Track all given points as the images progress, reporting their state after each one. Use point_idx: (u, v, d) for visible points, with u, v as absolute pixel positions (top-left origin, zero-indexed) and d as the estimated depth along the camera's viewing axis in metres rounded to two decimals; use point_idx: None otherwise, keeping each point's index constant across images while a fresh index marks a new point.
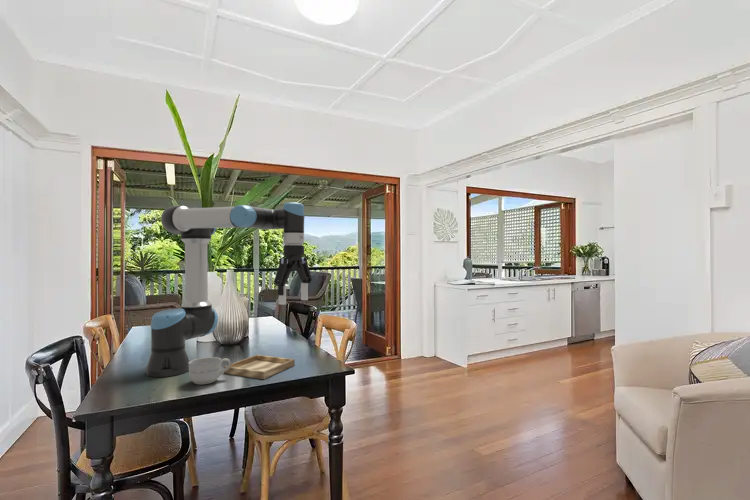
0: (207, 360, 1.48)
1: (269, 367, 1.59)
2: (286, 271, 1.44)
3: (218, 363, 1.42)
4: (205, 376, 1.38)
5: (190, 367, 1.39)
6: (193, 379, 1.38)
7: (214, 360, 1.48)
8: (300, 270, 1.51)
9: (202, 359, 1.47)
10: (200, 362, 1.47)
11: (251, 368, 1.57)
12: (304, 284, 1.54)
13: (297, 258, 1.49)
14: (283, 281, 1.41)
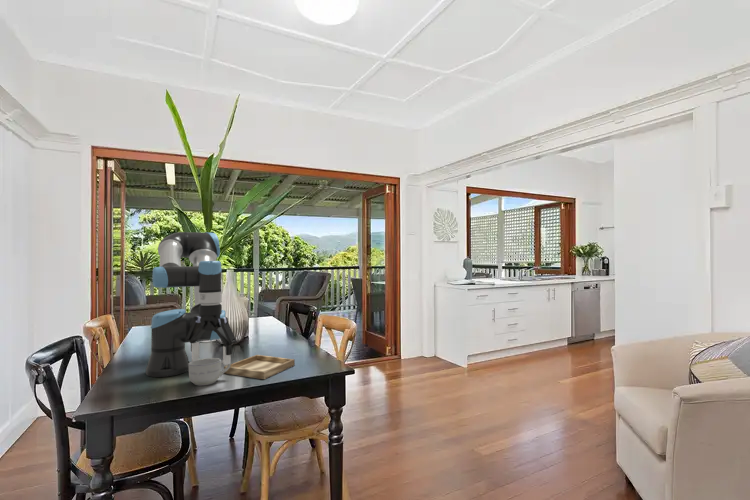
0: (207, 361, 1.48)
1: (269, 367, 1.59)
2: None
3: (218, 364, 1.42)
4: (204, 377, 1.38)
5: (190, 368, 1.39)
6: (193, 380, 1.38)
7: (214, 361, 1.48)
8: None
9: (202, 360, 1.47)
10: (200, 363, 1.47)
11: (251, 368, 1.57)
12: None
13: (209, 319, 1.42)
14: (191, 338, 1.45)
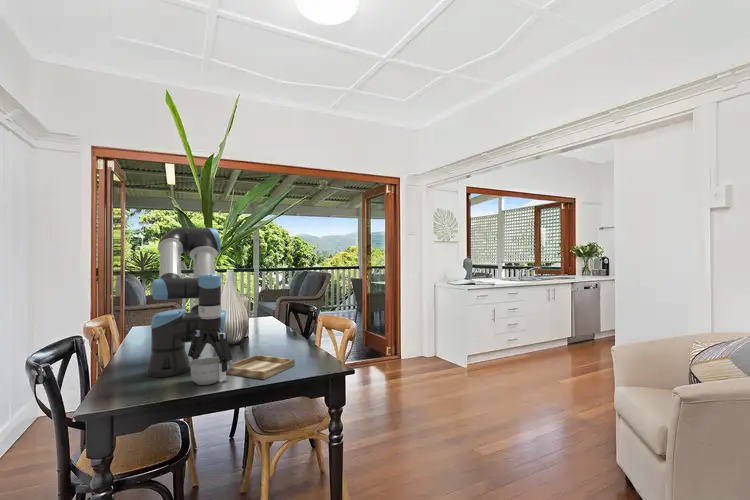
0: (209, 360, 1.47)
1: (269, 367, 1.59)
2: None
3: None
4: (207, 377, 1.38)
5: (192, 367, 1.38)
6: (195, 379, 1.38)
7: (216, 360, 1.47)
8: None
9: (204, 359, 1.47)
10: (202, 362, 1.46)
11: (251, 368, 1.57)
12: None
13: (209, 331, 1.42)
14: (193, 354, 1.45)
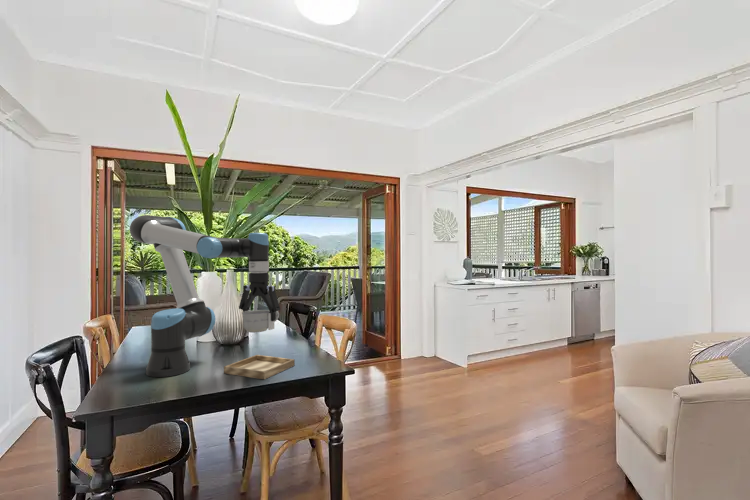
0: (257, 312, 1.61)
1: (269, 367, 1.59)
2: None
3: None
4: (258, 324, 1.52)
5: (245, 316, 1.52)
6: (248, 327, 1.52)
7: None
8: None
9: (253, 311, 1.61)
10: None
11: (251, 368, 1.57)
12: None
13: (258, 284, 1.56)
14: (243, 306, 1.59)
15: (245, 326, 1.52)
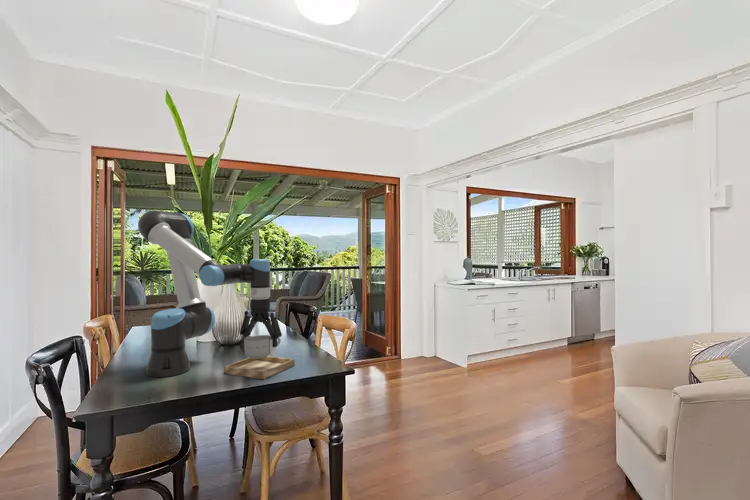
0: (258, 338, 1.62)
1: (269, 367, 1.59)
2: None
3: None
4: (260, 351, 1.52)
5: (246, 343, 1.53)
6: (249, 354, 1.52)
7: (265, 338, 1.62)
8: None
9: (254, 337, 1.61)
10: (252, 339, 1.61)
11: (251, 368, 1.57)
12: None
13: (260, 310, 1.57)
14: (244, 332, 1.60)
15: (247, 353, 1.53)
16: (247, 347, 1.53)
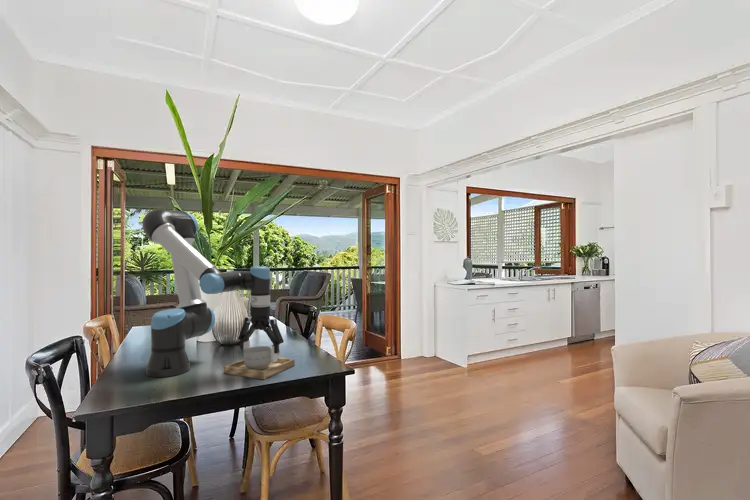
0: (257, 349, 1.62)
1: (269, 367, 1.59)
2: None
3: (270, 351, 1.57)
4: (259, 363, 1.53)
5: (246, 354, 1.53)
6: (249, 365, 1.53)
7: (264, 349, 1.62)
8: None
9: (253, 348, 1.62)
10: (251, 350, 1.61)
11: None
12: None
13: (260, 319, 1.57)
14: (243, 337, 1.60)
15: (246, 364, 1.53)
16: (246, 358, 1.53)
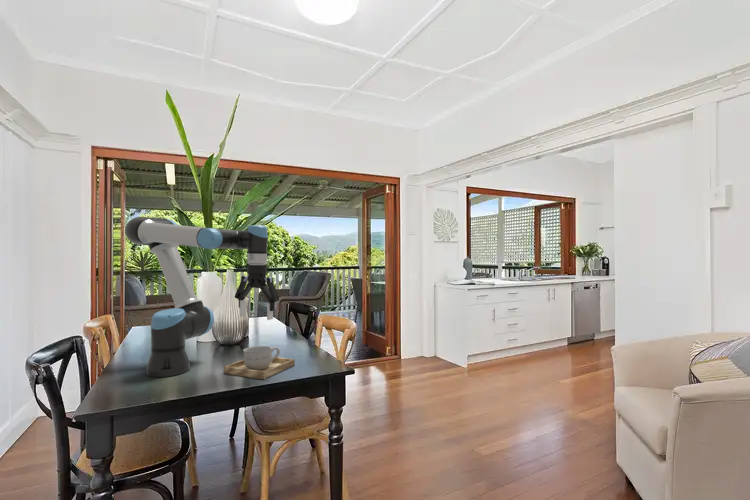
0: (257, 349, 1.62)
1: (269, 367, 1.59)
2: None
3: (270, 351, 1.57)
4: (259, 363, 1.53)
5: (246, 354, 1.53)
6: (249, 365, 1.53)
7: (264, 349, 1.62)
8: None
9: (253, 348, 1.62)
10: (251, 350, 1.61)
11: None
12: None
13: (256, 277, 1.58)
14: (239, 296, 1.62)
15: (246, 364, 1.53)
16: (246, 358, 1.53)
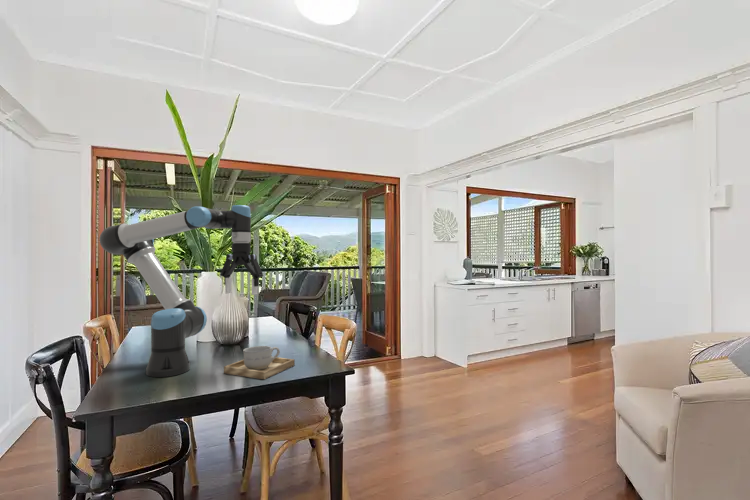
0: (257, 349, 1.62)
1: (269, 367, 1.59)
2: None
3: (270, 351, 1.57)
4: (259, 363, 1.53)
5: (246, 354, 1.53)
6: (249, 365, 1.53)
7: (264, 349, 1.62)
8: None
9: (253, 348, 1.62)
10: (251, 350, 1.61)
11: None
12: None
13: (240, 254, 1.66)
14: (225, 273, 1.69)
15: (246, 364, 1.53)
16: (246, 358, 1.53)
